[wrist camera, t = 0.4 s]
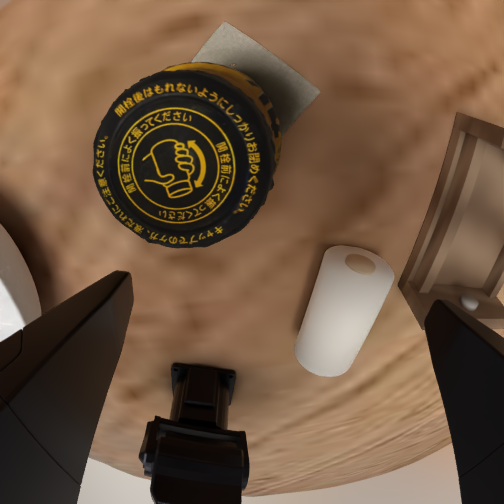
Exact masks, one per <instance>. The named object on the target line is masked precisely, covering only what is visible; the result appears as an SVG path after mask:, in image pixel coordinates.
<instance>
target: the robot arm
mask: <svg viewBox="0 0 504 504" xmlns="http://www.w3.org/2000/svg"><path fill="white" fill-rule="evenodd" d="M133 302H134V295H133V286H132V277H131V274H130V273H129V272H126V271H119V270H116V271H114V272H112V273H110V274H109V275H107V276H105V277H104V278H102V279H100V280H98V281H97V282H95V283H93V284H92V285H90V286H88V287H87V288H85V289H83V290H82V291H80V292H79V293H77V294H75V295H74V296H72V297H70V298H69V299H67V300H65V301H64V302H62V303H61V304H59V305H57V306H56V307H54V308H53V309H51V310H49V311H48V312H46V313H45V314H43V315H41V316H40V317H38V318H37V319H35V320H34V321H32V322H31V323H29V324H27V325H26V326H24V327H23V330H22V329H20V330H18V331H17V332H15V333H14V334H12V335H11V336H9V337H7V338H6V339H4V340H3V341H1V342H0V504H77V501H78V496H79V492H80V487H81V486H80V485H81V483H82V478H83V475H84V471H85V467H86V463H87V459H88V456H89V452H90V448H91V445H92V441H93V438H94V434H95V431H96V428H97V424H98V421H99V418H100V414H101V411H102V408H103V405H104V402H105V399H106V396H107V392H108V389H109V386H110V383H111V380H112V378H113V375H114V372H115V369H116V366H117V363H118V360H119V357H120V354H121V351H122V347H123V344H124V339H125V335H126V331H127V327H128V323H129V319H130V315H131V311H132V307H133ZM424 328H425V333H426V337H427V341H428V346H429V350H430V355H431V360H432V364H433V368H434V372H435V375H436V379H437V382H438V386H439V389H440V393H441V397H442V401H443V405H444V408H445V413H446V417H447V421H448V425H449V430H450V434H451V439H452V444H453V448H454V454H455V459H456V465H457V471H458V477H459V485H460V493H461V500H462V504H504V338H503V337H502V336H500V335H499V334H497V333H496V332H495V331H493V330H492V329H490V328H489V327H487V326H486V325H485V324H483V323H482V322H480V321H479V320H477V319H476V318H474V317H473V316H471V315H470V314H468V313H467V312H465V311H464V310H462V309H461V308H459V307H458V306H456V305H455V304H453V303H452V302H450V301H449V300H447V299H436V300H435V301H434V302H433V304H432V306H431V308H430V310H429V311H428V313H427V315H426V317H425V320H424ZM171 375H172V388H173V402H172V407H171V413H170V419H164V418H161V417H160V416H155V419H154V421H151V422H148V423H147V427H146V432H145V436H144V440H143V443H142V446H141V449H140V453H139V459H140V461H141V462H142V463H143V468H145V470H144V475H145V476H149V477H152V479H151V487H150V492H151V497H152V500H153V502H154V504H241V493H242V491H243V490H244V489H245V488H246V486H247V482H248V478H249V456H248V448H247V441H246V433H245V431H232V430H227V426H228V406H229V405H230V404H231V399H232V394H233V389H234V384H235V378H236V373H235V372H234V371H230V370H220V369H212V368H203V367H195V366H188V365H181V364H173V365H172V367H171Z"/></svg>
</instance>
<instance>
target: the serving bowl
mask: <svg viewBox="0 0 504 504" xmlns="http://www.w3.org/2000/svg"><path fill="white" fill-rule="evenodd" d="M41 315H42V314H41V307H40V302H39V297H38V294H37V290H36V287H35V284H34V281H33V278H32V276H31V273H30V271H29V269H28V267H27V264H26V262H25V260H24V258H23V257H22V255H21V253H20V251H19V249H18V248H17V246H16V245H15V243H14V241H13V240H12V238H11V237H10V235H9V234H8V233H7V231H6V230H5V229H4V227H3V226H2V225H1V224H0V342H1V341H3V340H4V339H6V338H7V337H9V336H11V335H12V334H14V333H15V332H17V331H18V330H20V329H22V330H23V327H24V326H26V325H27V324H29V323H31V322H32V321H34V320H35V319H37V318H38V317H40V316H41Z"/></svg>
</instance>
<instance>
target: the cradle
mask: <svg viewBox="0 0 504 504" xmlns="http://www.w3.org/2000/svg"><path fill="white" fill-rule="evenodd" d="M503 283H504V128H502V127H499V126H496V125H494V124H491V123H488V122H485V121H482V120H479V119H476V118H473V117H470V116H467V115H464V114H461V113H458V112H457V114H456V119H455V123H454V127H453V131H452V135H451V139H450V142H449V146H448V150H447V153H446V157H445V160H444V164H443V167H442V170H441V173H440V177H439V180H438V183H437V186H436V189H435V192H434V195H433V198H432V201H431V204H430V207H429V209H428V212H427V215H426V218H425V220H424V223H423V226H422V228H421V231H420V233H419V236H418V239H417V241H416V244H415V246H414V248H413V251H412V253H411V256H410V258H409V260H408V263H407V265H406V267H405V270H404V272H403V274H402V277H401V279H400V281H399V283H398V287H399V289H400V290H401V292H402V294H403V296H404V297H405V299H406V301H407V303H408V305H409V306H410V308H411V310H412V312H413V314H414V316H415V317H416V319H417V321H418V323H419V325H420V327H421V329H422V330H425V328H424V320H425V317H426V315H427V313H428V311H429V310H430V308H431V306H432V304H433V302H434V301H435V300H436V299H447V300H449V301H450V302H452V303H453V304H455V305H456V306H458V307H459V308H461V309H462V310H464V311H465V312H467V313H468V314H470V315H471V316H473V317H474V318H476V319H477V320H479V321H480V322H482V323H483V324H485V325H486V326H487V327H489V328H490V329H504V306H503V304H502V303H501V302H500V301H499V299H498V298H497V297H496V296H497V294H498V292H499V291H500V289H501V287H502V285H503Z"/></svg>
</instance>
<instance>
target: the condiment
mask: <svg viewBox="0 0 504 504" xmlns="http://www.w3.org/2000/svg"><path fill="white" fill-rule="evenodd" d="M231 64H236V65H235V66H231ZM227 66H228V67H227ZM320 92H321V91H320V90H318V89H317V88H316V87H315V86H314V85H312V84H311V83H310V82H309V81H307V80H306V79H305V78H304V77H302V76H301V75H300V74H299V73H297V72H296V71H295V70H293V69H292V68H291V67H290V66H288V65H287V64H286V63H284V62H283V61H281V60H280V59H279V58H278V57H276V56H275V55H274V54H272V53H271V52H269V51H268V50H266V49H265V48H264V47H262V46H261V45H260V44H258V43H257V42H255V41H254V40H253V39H251V38H250V37H248V36H247V35H245V34H243V33H242V32H240V31H239V30H238V29H236V28H235V27H233V26H231V25H230V24H228V23H227V22H225V21H224V22H223V23H222V24H221V26H220V27H219V28H218V29H217V30H216V31H215V32H214V34H213V35H212V36H211V37H210V39H209V40H208V41H207V42H206V43H205V44H204V46H203V47H202V48H201V50H200V51H199V52H198V54H197V55H196V56H195V57H194V58H193V60H192V61H191V63H184V64H179V65H177V66H169V67H167V68H166V69H164V70H162V71H161V72H158V73H155V74H153V75H152V76H148V77H146V78H143V79H140V81H139V82H138V83H136V84H134V85H132V86H131V87H130V88H129V89H125V91H124V92H123V93H122V94H121V95H120V96H119V97H118V98H117V99H116V101H115V102H113V104H112V105H111V107H110V109H109V110H108V112H107V114H106V116H105V117H104V118H103V120H102V121H101V125H100V127H99V129H98V132H97V134H96V137H95V140H94V146H93V147H94V166H93V176H94V180H95V183H96V186H97V188H98V191H99V193H100V196H101V197H102V199H103V201H104V202H105V204H106V206H107V207H108V209H109V210H110V212H111V213H112V214H113V216H114V217H115V218H116V219H117V220H118V221H120V222H121V223H122V224H123V225H124V226H126V227H127V228H129V229H130V230H132V231H133V232H134V233H136V234H137V235H138V236H140V237H141V238H143V239H145V240H146V241H147V242H149V243H154V244H160V245H163V246H166V247H171V248H193V247H208V246H210V245H212V244H214V243H217V242H219V241H221V240H223V239H225V238H227V237H229V236H231V235H233V234H236V233H237V232H239V231H241V230H242V229H243V228H244V227H245V226H246V225H247V224H248V223H249V221H250V220H251V219H253V218H254V216H255V215H256V214H257V212H258V210H259V209H260V207H261V206H262V205H264V204H265V201H266V198H267V194H268V191H269V190H271V189H272V188H273V186H274V182H273V178H272V177H273V175H274V173H275V171H276V168H277V165H278V162H279V157H280V151H281V140H282V135H283V134H284V133H285V132H286V131H287V129H288V128H289V127H290V126H291V125H292V123H293V122H294V121H295V120H296V119H297V118H298V116H299V115H300V114H301V113H302V112H303V111H304V110H305V109H306V108H307V106H308V105H309V104H310V103H311V102H312V101H313V100H314V99H315V98H316V96H317V95H318V94H319V93H320Z"/></svg>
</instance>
